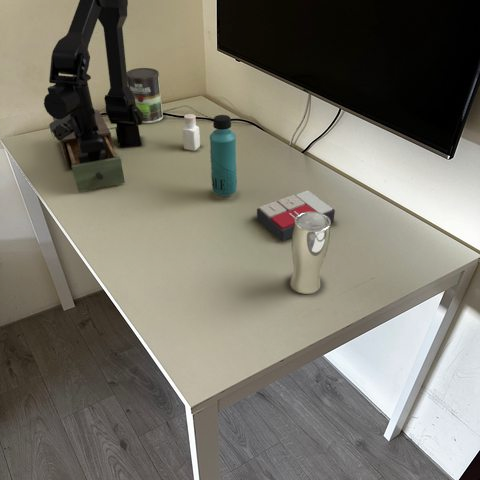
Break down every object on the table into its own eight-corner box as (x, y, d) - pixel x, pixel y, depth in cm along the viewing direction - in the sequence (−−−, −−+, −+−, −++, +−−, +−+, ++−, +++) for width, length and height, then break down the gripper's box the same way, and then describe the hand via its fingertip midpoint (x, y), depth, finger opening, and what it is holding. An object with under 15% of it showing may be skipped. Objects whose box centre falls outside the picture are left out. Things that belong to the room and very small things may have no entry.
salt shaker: (183, 149, 142) (180, 117, 135) (189, 144, 145) (186, 112, 138) (195, 151, 141) (193, 119, 134) (201, 146, 143) (199, 114, 137)
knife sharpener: (106, 161, 130) (102, 143, 127) (108, 166, 128) (104, 148, 124) (80, 166, 128) (75, 147, 125) (82, 171, 126) (77, 152, 123)
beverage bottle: (238, 189, 124) (237, 111, 110) (235, 202, 120) (234, 122, 106) (213, 188, 125) (210, 110, 111) (210, 201, 120) (205, 121, 106)
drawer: (126, 184, 125) (121, 160, 120) (79, 193, 121) (72, 169, 117) (111, 155, 137) (107, 132, 132) (68, 163, 134) (62, 140, 129)
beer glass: (285, 274, 98) (290, 211, 88) (318, 272, 99) (327, 209, 88) (290, 296, 93) (297, 232, 83) (325, 294, 94) (335, 230, 83)
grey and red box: (256, 205, 111) (308, 187, 116) (256, 221, 114) (307, 202, 119) (281, 228, 104) (336, 207, 109) (281, 244, 107) (334, 223, 112)
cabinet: (115, 161, 136) (110, 132, 131) (68, 169, 133) (60, 140, 127) (103, 137, 149) (98, 109, 143) (60, 144, 145) (52, 116, 139)
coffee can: (158, 124, 156) (153, 78, 146) (128, 122, 157) (121, 76, 147) (167, 112, 163) (162, 68, 153) (138, 111, 164) (131, 66, 154)
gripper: (42, 96, 121) (59, 154, 132) (51, 122, 108) (68, 185, 119) (86, 90, 124) (99, 148, 135) (99, 115, 112) (112, 176, 122)
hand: (94, 163), depth 128 cm, fingers closed on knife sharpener, 3 cm apart
